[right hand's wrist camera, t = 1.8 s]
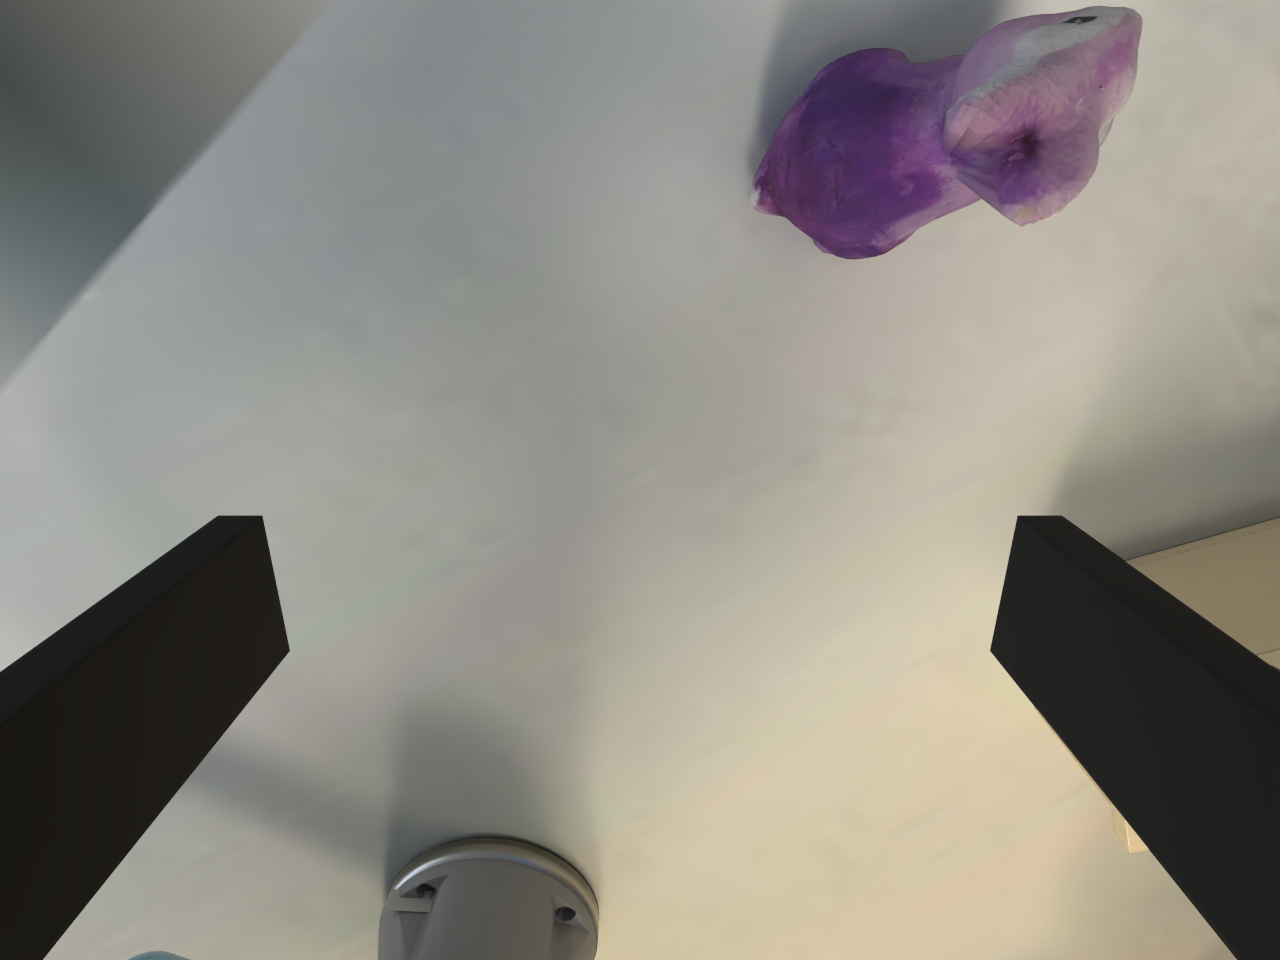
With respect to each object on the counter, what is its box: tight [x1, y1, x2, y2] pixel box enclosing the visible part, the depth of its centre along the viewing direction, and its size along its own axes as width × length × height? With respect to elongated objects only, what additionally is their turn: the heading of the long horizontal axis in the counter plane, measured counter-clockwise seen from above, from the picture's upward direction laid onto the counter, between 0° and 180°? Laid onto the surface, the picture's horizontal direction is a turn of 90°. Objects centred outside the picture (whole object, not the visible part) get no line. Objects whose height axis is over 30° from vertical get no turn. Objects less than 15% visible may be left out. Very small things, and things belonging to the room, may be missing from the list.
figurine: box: [749, 6, 1143, 259], centre depth 26 cm, size 9×10×15 cm
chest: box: [1035, 518, 1280, 805], centre depth 38 cm, size 16×9×9 cm, turn 109°
